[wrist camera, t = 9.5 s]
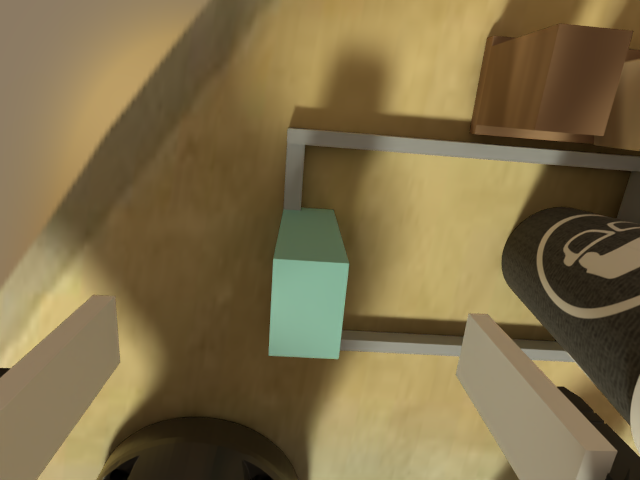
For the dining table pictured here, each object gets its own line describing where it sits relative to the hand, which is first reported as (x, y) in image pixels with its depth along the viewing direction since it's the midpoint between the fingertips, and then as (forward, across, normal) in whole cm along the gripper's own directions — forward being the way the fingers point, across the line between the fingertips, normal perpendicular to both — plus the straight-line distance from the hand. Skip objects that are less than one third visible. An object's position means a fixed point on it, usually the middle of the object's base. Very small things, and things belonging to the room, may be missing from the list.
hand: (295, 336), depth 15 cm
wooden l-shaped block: (+10, +17, +10) cm, 22 cm away
